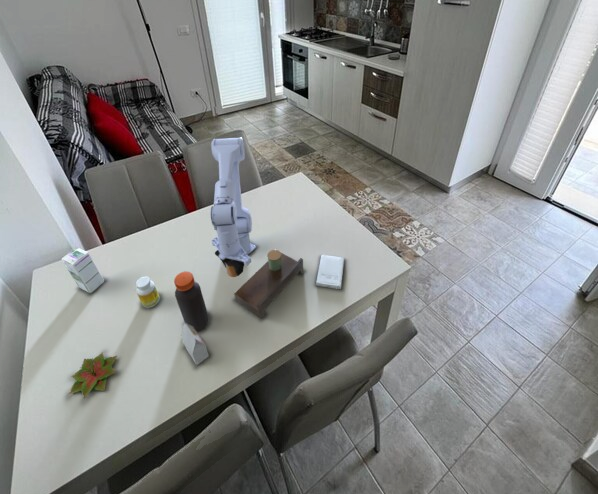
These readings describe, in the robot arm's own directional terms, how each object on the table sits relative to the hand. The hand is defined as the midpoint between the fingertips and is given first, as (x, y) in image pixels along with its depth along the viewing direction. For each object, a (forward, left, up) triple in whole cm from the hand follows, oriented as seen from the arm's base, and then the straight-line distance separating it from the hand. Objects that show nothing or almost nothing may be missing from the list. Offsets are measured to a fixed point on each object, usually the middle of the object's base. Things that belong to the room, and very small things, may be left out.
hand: (234, 269), depth 103 cm
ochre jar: (0, 0, -1) cm, 1 cm away
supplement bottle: (-20, -19, -10) cm, 30 cm away
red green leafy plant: (-12, -41, -10) cm, 44 cm away
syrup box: (-42, -27, -10) cm, 51 cm away
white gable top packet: (+5, -21, -10) cm, 24 cm away
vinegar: (-2, -15, -10) cm, 19 cm away
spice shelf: (+7, +8, -10) cm, 15 cm away
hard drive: (+21, +24, -10) cm, 33 cm away
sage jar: (+5, +13, -7) cm, 16 cm away
